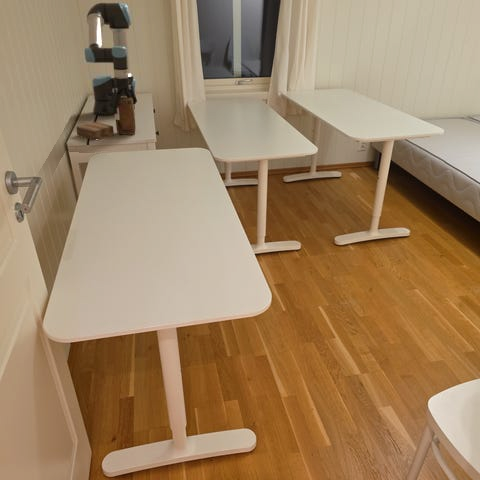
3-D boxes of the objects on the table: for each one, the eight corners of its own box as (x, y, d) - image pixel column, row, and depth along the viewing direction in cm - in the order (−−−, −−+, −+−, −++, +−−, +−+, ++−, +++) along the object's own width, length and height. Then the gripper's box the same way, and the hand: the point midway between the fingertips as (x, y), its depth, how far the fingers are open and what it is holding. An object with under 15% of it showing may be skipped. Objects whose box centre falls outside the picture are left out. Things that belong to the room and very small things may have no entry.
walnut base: (97, 130, 263) (95, 121, 260) (113, 134, 256) (112, 126, 254) (77, 135, 252) (76, 126, 250) (94, 140, 246) (93, 131, 243)
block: (135, 131, 264) (133, 96, 254) (136, 134, 258) (133, 99, 248) (117, 131, 262) (113, 96, 252) (116, 135, 255) (113, 99, 246)
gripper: (109, 81, 234) (114, 122, 245) (141, 75, 251) (144, 114, 262) (100, 79, 238) (104, 120, 249) (132, 73, 255) (135, 112, 266)
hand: (125, 117), depth 255 cm, fingers closed on block, 11 cm apart
